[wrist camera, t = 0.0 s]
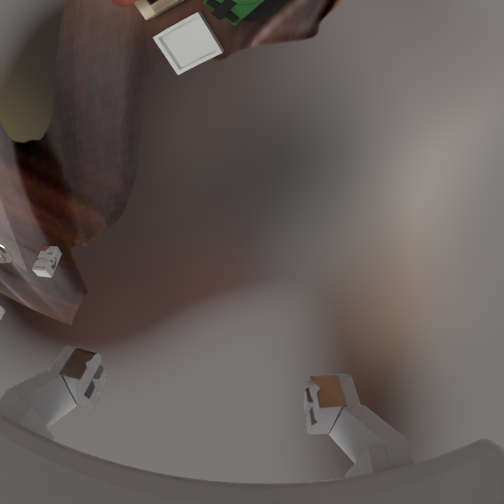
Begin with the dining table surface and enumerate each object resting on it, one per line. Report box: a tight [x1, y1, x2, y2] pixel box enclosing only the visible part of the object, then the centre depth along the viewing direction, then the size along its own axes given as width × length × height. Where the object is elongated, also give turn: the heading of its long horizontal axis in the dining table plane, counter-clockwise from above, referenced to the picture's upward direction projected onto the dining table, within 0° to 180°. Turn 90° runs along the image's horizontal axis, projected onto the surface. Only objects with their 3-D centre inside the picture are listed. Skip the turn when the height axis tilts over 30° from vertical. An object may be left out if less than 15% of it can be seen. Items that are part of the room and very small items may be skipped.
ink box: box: [32, 246, 62, 278], centre depth 92 cm, size 9×5×12 cm, turn 89°
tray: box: [153, 11, 224, 75], centre depth 42 cm, size 10×10×2 cm
